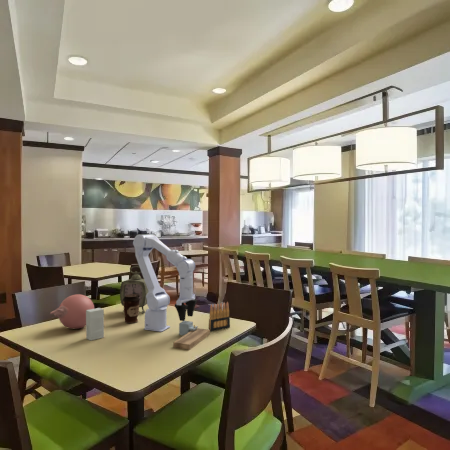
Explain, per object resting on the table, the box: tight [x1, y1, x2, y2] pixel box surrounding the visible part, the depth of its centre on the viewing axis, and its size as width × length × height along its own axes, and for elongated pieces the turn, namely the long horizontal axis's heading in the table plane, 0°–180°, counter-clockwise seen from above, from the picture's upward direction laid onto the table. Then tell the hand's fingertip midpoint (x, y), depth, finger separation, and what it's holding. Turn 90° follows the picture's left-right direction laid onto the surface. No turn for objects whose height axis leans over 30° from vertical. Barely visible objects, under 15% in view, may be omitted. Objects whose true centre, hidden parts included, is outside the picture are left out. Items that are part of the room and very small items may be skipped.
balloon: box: [49, 293, 95, 330], centre depth 160 cm, size 15×20×15 cm
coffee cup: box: [123, 294, 140, 324], centre depth 173 cm, size 9×8×13 cm
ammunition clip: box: [208, 301, 231, 332], centre depth 162 cm, size 11×2×12 cm, turn 124°
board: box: [172, 327, 211, 350], centre depth 146 cm, size 7×20×2 cm, turn 160°
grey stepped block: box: [178, 320, 199, 336], centre depth 154 cm, size 7×4×5 cm, turn 70°
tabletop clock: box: [119, 265, 148, 315], centre depth 192 cm, size 14×9×25 cm, turn 80°
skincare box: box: [85, 307, 105, 341], centre depth 148 cm, size 6×4×12 cm
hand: (186, 318), depth 155 cm, fingers open, 7 cm apart
